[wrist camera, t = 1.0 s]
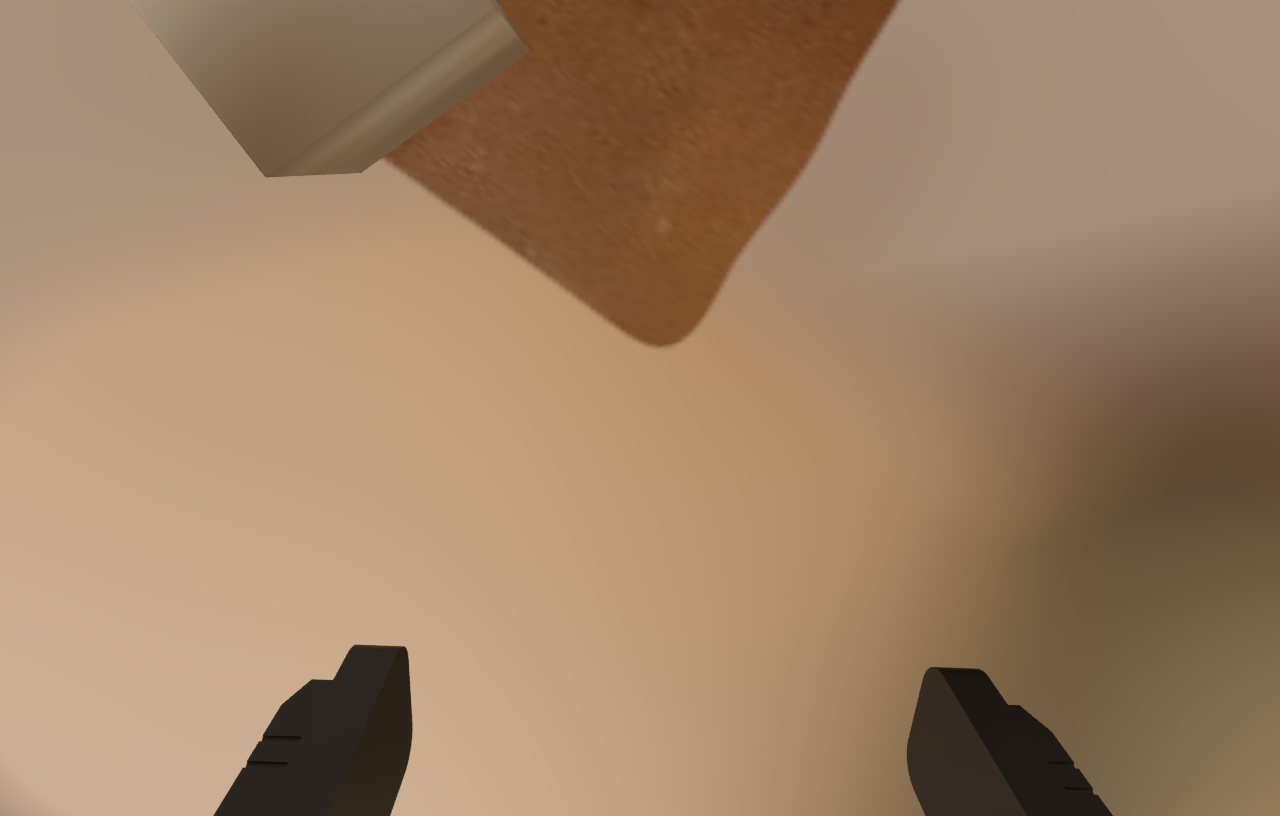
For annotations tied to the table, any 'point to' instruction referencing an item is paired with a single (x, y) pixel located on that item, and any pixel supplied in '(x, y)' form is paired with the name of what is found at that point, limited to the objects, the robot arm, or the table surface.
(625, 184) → the table surface
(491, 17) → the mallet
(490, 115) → the table surface
